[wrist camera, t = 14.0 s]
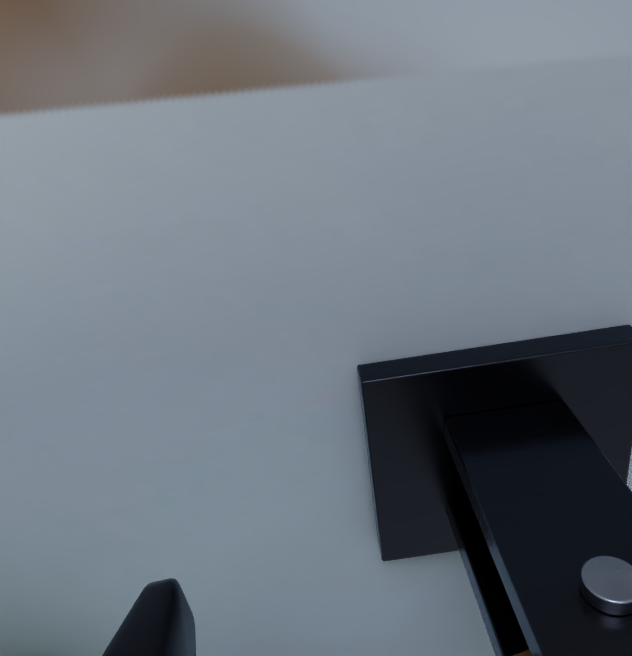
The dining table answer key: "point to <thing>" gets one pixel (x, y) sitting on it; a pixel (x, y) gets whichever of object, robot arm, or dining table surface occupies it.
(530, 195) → the dining table surface
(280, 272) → the dining table surface
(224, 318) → the dining table surface
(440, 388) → the bracket
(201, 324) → the dining table surface
